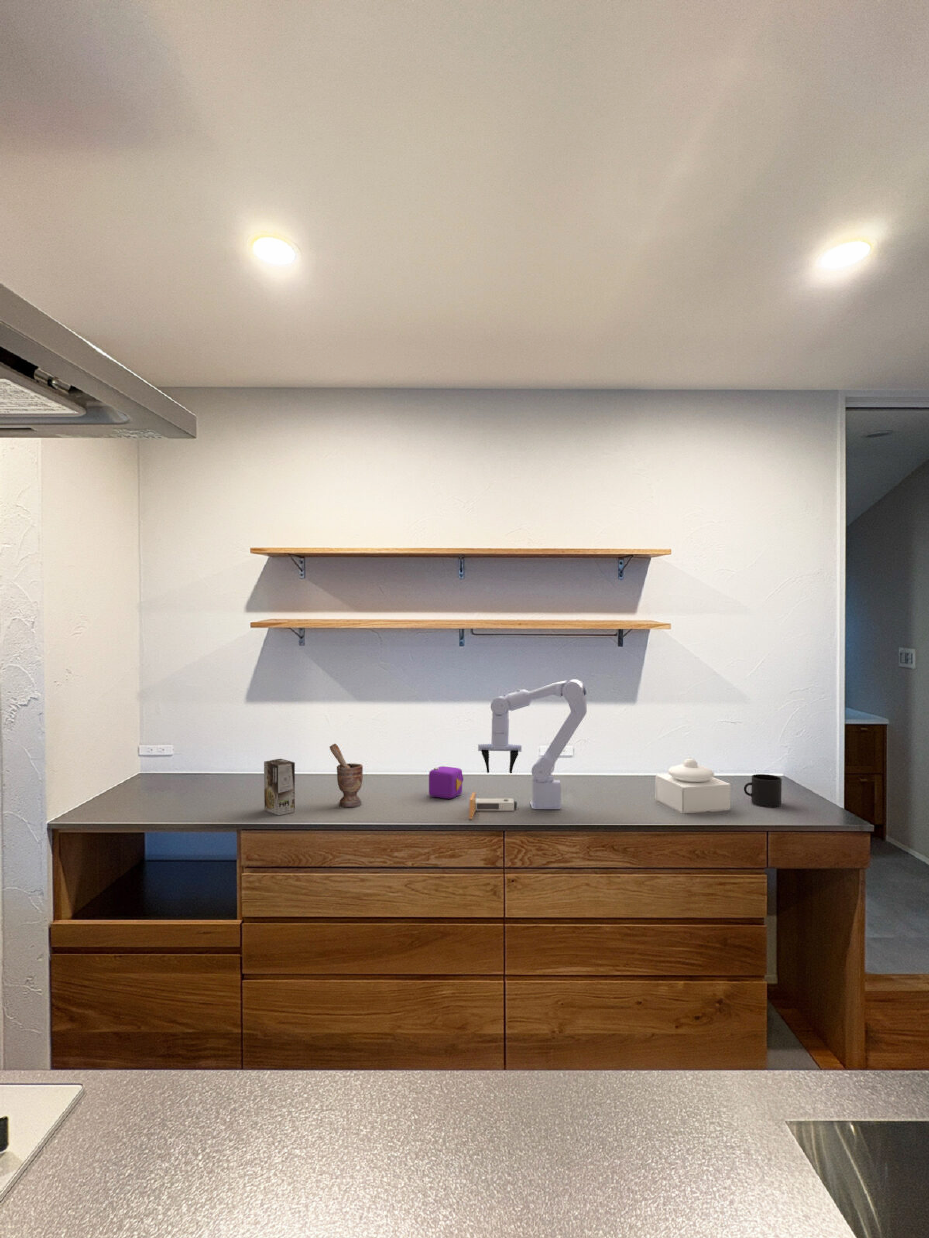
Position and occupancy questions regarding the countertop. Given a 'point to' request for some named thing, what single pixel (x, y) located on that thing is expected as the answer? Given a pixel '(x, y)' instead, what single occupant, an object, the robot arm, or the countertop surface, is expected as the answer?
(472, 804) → the side door
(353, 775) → the mortar and pestle
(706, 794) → the butter dish
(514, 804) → the cream tapered panel
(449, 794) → the toy camera
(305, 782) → the countertop surface
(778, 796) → the mug
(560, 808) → the robot arm
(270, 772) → the coffee box
